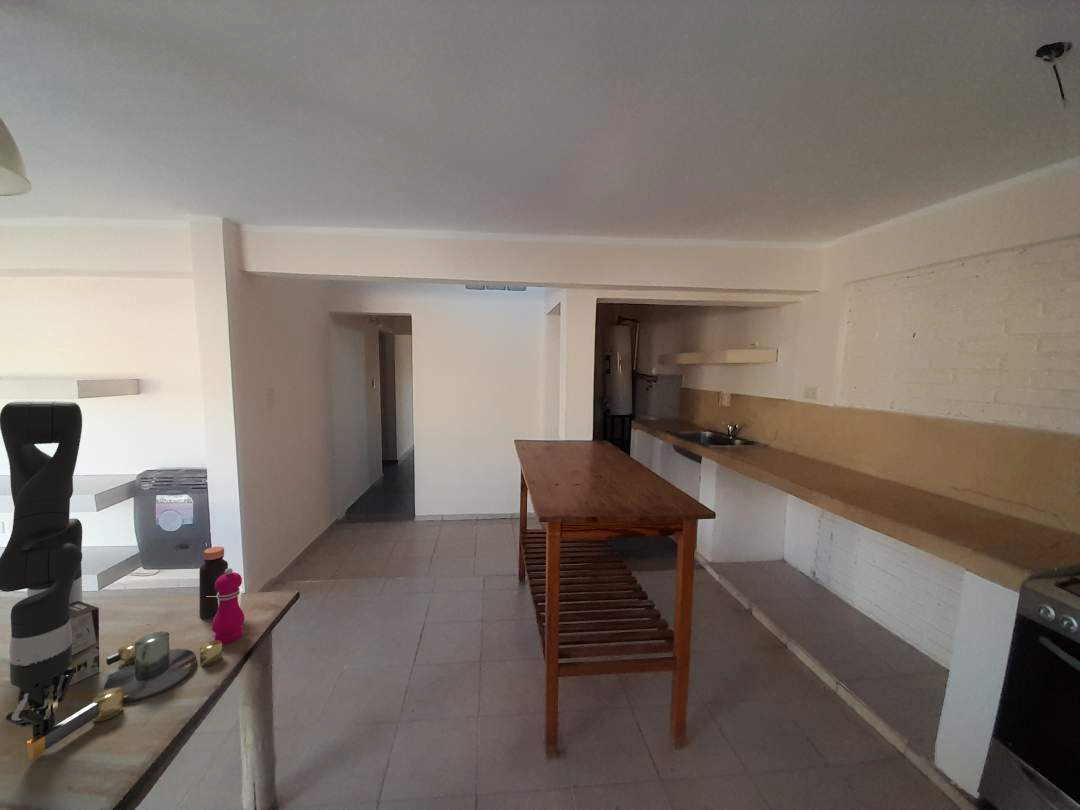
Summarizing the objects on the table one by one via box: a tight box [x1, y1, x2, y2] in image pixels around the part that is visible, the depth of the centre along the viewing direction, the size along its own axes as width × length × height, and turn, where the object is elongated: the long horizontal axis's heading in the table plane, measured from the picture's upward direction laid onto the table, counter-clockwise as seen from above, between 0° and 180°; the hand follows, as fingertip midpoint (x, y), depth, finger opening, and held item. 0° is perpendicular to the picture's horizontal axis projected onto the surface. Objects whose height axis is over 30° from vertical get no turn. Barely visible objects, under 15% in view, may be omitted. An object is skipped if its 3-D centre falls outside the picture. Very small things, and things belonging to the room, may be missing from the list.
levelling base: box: [103, 631, 223, 704], centre depth 99 cm, size 23×19×10 cm
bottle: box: [199, 546, 229, 619], centre depth 124 cm, size 7×7×20 cm
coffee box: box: [68, 601, 100, 687], centre depth 97 cm, size 9×6×16 cm
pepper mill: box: [211, 567, 245, 645], centre depth 112 cm, size 7×7×20 cm
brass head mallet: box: [26, 687, 124, 759], centre depth 82 cm, size 14×4×4 cm, turn 170°
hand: (44, 734), depth 78 cm, fingers closed
